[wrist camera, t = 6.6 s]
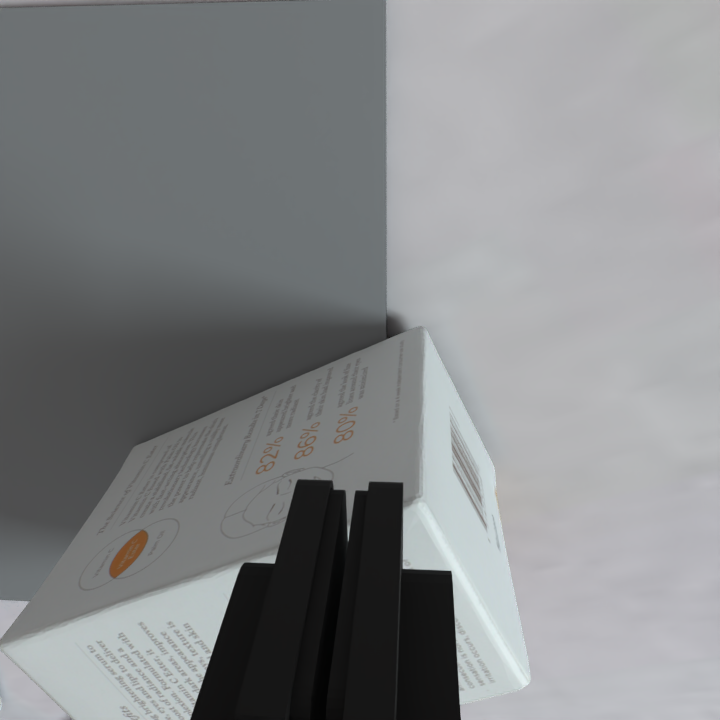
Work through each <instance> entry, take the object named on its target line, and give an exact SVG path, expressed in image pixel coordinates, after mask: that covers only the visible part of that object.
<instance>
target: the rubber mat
mask: <svg viewBox="0 0 720 720" xmlns="http://www.w3.org/2000/svg"><path fill="white" fill-rule="evenodd" d="M386 339H387V320H386V0H296V1H256V2H216V3H176V4H135V5H95V6H55V7H15V8H0V600H15V601H31V599H32V598H33V597H34V595H35V594H36V592H37V591H38V590H39V588H40V587H41V585H42V584H43V583H44V581H45V580H46V578H47V577H48V575H49V574H50V573H51V571H52V570H53V568H54V567H55V565H56V564H57V563H58V561H59V560H60V558H61V557H62V555H63V554H64V553H65V551H66V550H67V549H68V547H69V545H70V544H71V542H72V541H73V539H74V538H75V537H76V535H77V534H78V532H79V531H80V529H81V528H82V526H83V525H84V524H85V522H86V521H87V519H88V518H89V516H90V515H91V513H92V512H93V510H94V509H95V507H96V506H97V504H98V503H99V502H100V500H101V499H102V497H103V496H104V494H105V493H106V491H107V490H108V488H109V487H110V485H111V484H112V482H113V481H114V479H115V477H116V476H117V474H118V473H119V471H120V470H121V468H122V466H123V464H124V462H125V460H126V459H127V457H128V456H129V454H130V452H131V450H132V449H133V447H134V446H136V445H139V444H141V443H144V442H147V441H149V440H151V439H153V438H156V437H158V436H160V435H163V434H165V433H167V432H170V431H172V430H175V429H177V428H179V427H182V426H184V425H186V424H189V423H191V422H194V421H196V420H198V419H201V418H203V417H205V416H207V415H210V414H212V413H214V412H217V411H219V410H221V409H223V408H226V407H228V406H230V405H233V404H235V403H237V402H240V401H242V400H245V399H247V398H249V397H251V396H254V395H256V394H258V393H261V392H263V391H265V390H268V389H270V388H272V387H275V386H277V385H280V384H282V383H284V382H287V381H289V380H291V379H294V378H296V377H299V376H301V375H303V374H305V373H308V372H310V371H313V370H315V369H318V368H320V367H322V366H324V365H327V364H329V363H331V362H334V361H336V360H339V359H341V358H343V357H346V356H348V355H350V354H352V353H355V352H357V351H360V350H363V349H365V348H368V347H370V346H372V345H375V344H377V343H379V342H382V341H384V340H386Z"/></svg>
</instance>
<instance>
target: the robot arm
mask: <svg viewBox="0 0 720 720" xmlns="http://www.w3.org/2000/svg"><path fill="white" fill-rule="evenodd" d="M190 720H461V717H460V699H459V682H458V665H457V648H456V631H455V614H454V596H453V580H452V572H451V571H444V570H420V569H403V482H372V481H369V486H368V491H363V490H356V491H355V496H354V503H353V510H352V518H351V525H350V532H349V540H348V530H347V506H346V491H345V490H334V486H333V481H332V480H307V479H298V480H297V482H296V485H295V489H294V493H293V497H292V500H291V504H290V508H289V512H288V515H287V519H286V523H285V527H284V530H283V534H282V538H281V542H280V545H279V549H278V553H277V557H276V560H275V563H251V562H244V564H243V565H242V566H241V568H240V570H239V573H238V575H237V578H236V581H235V584H234V587H233V591H232V594H231V597H230V600H229V603H228V606H227V609H226V612H225V615H224V618H223V621H222V624H221V627H220V630H219V633H218V636H217V639H216V642H215V645H214V648H213V652H212V655H211V658H210V661H209V664H208V667H207V670H206V673H205V676H204V679H203V682H202V685H201V688H200V691H199V694H198V697H197V700H196V703H195V706H194V709H193V713H192V716H191V719H190Z"/></svg>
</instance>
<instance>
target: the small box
mask: <svg viewBox="0 0 720 720" xmlns="http://www.w3.org/2000/svg"><path fill="white" fill-rule="evenodd" d="M298 479H307V480H332V481H333V486H334V490H345V491H346V506H347V530H348V540H349V532H350V525H351V518H352V510H353V503H354V496H355V491H356V490H363V491H368V486H369V481H372V482H403V569H420V570H444V571H451V572H452V580H453V596H454V614H455V631H456V648H457V665H458V682H459V699H460V705H463V704H467V703H471V702H475V701H479V700H483V699H487V698H491V697H495V696H499V695H503V694H507V693H511V692H515V691H519V690H520V689H522V688H524V687H526V686H527V685H528V684H529V683H530V679H531V676H530V669H529V663H528V657H527V652H526V647H525V642H524V637H523V632H522V627H521V622H520V617H519V613H518V608H517V603H516V598H515V593H514V588H513V583H512V578H511V573H510V568H509V563H508V558H507V553H506V548H505V542H504V537H503V531H502V525H501V518H500V512H499V506H498V500H497V493H496V479H495V468H494V465H493V463H492V461H491V459H490V457H489V455H488V453H487V451H486V449H485V447H484V445H483V443H482V441H481V439H480V437H479V434H478V432H477V430H476V428H475V426H474V425H473V423H472V421H471V419H470V417H469V415H468V413H467V411H466V409H465V407H464V405H463V403H462V401H461V399H460V397H459V395H458V393H457V391H456V389H455V387H454V385H453V383H452V381H451V379H450V377H449V375H448V373H447V371H446V369H445V367H444V365H443V363H442V361H441V359H440V357H439V355H438V353H437V351H436V349H435V346H434V344H433V342H432V340H431V338H430V336H429V334H428V332H427V330H426V329H425V328H424V327H422V326H420V327H415V328H413V329H410V330H408V331H406V332H403V333H401V334H398V335H396V336H393V337H391V338H389V339H386V340H384V341H382V342H379V343H377V344H375V345H372V346H370V347H368V348H365V349H363V350H360V351H357V352H355V353H352V354H350V355H348V356H346V357H343V358H341V359H339V360H336V361H334V362H331V363H329V364H327V365H324V366H322V367H320V368H318V369H315V370H313V371H310V372H308V373H305V374H303V375H301V376H299V377H296V378H294V379H291V380H289V381H287V382H284V383H282V384H280V385H277V386H275V387H272V388H270V389H268V390H265V391H263V392H261V393H258V394H256V395H254V396H251V397H249V398H247V399H245V400H242V401H240V402H237V403H235V404H233V405H230V406H228V407H226V408H223V409H221V410H219V411H217V412H214V413H212V414H210V415H207V416H205V417H203V418H201V419H198V420H196V421H194V422H191V423H189V424H186V425H184V426H182V427H179V428H177V429H175V430H172V431H170V432H167V433H165V434H163V435H160V436H158V437H156V438H153V439H151V440H149V441H147V442H144V443H141V444H139V445H136V446H134V447H133V449H132V450H131V452H130V454H129V456H128V457H127V459H126V460H125V462H124V464H123V466H122V468H121V470H120V471H119V473H118V474H117V476H116V477H115V479H114V481H113V482H112V484H111V485H110V487H109V488H108V490H107V491H106V493H105V494H104V496H103V497H102V499H101V500H100V502H99V503H98V504H97V506H96V507H95V509H94V510H93V512H92V513H91V515H90V516H89V518H88V519H87V521H86V522H85V524H84V525H83V526H82V528H81V529H80V531H79V532H78V534H77V535H76V537H75V538H74V539H73V541H72V542H71V544H70V545H69V547H68V549H67V550H66V551H65V553H64V554H63V555H62V557H61V558H60V560H59V561H58V563H57V564H56V565H55V567H54V568H53V570H52V571H51V573H50V574H49V575H48V577H47V578H46V580H45V581H44V583H43V584H42V585H41V587H40V588H39V590H38V591H37V592H36V594H35V595H34V597H33V598H32V599H31V601H30V602H29V603H28V605H27V606H26V607H25V609H24V610H23V611H22V612H21V614H20V615H19V616H18V617H17V619H16V620H15V621H14V623H13V624H12V625H11V627H10V628H9V629H8V630H7V632H6V633H5V634H4V636H3V637H2V638H1V640H0V649H1V651H2V652H3V653H4V654H5V655H6V656H7V657H8V658H9V659H10V660H11V661H13V662H14V663H15V664H16V665H17V666H18V667H19V668H20V669H21V670H22V671H23V672H24V673H25V674H26V675H27V676H28V677H29V678H31V679H32V680H33V681H34V682H35V683H36V684H37V685H38V686H39V687H40V688H41V689H42V690H43V691H44V692H45V693H46V694H47V695H48V696H49V697H50V698H51V699H52V700H53V701H54V702H55V703H56V704H57V705H58V706H59V707H60V708H61V709H62V710H63V711H64V712H66V713H67V714H68V715H69V716H70V717H71V718H72V719H73V720H190V719H191V716H192V713H193V709H194V706H195V703H196V700H197V697H198V694H199V691H200V688H201V685H202V682H203V679H204V676H205V673H206V670H207V667H208V664H209V661H210V658H211V655H212V652H213V648H214V645H215V642H216V639H217V636H218V633H219V630H220V627H221V624H222V621H223V618H224V615H225V612H226V609H227V606H228V603H229V600H230V597H231V594H232V591H233V587H234V584H235V581H236V578H237V575H238V573H239V570H240V568H241V566H242V565H243V564H244V562H251V563H275V560H276V557H277V553H278V549H279V545H280V542H281V538H282V534H283V530H284V527H285V523H286V519H287V515H288V512H289V508H290V504H291V500H292V497H293V493H294V489H295V485H296V482H297V480H298Z"/></svg>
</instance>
